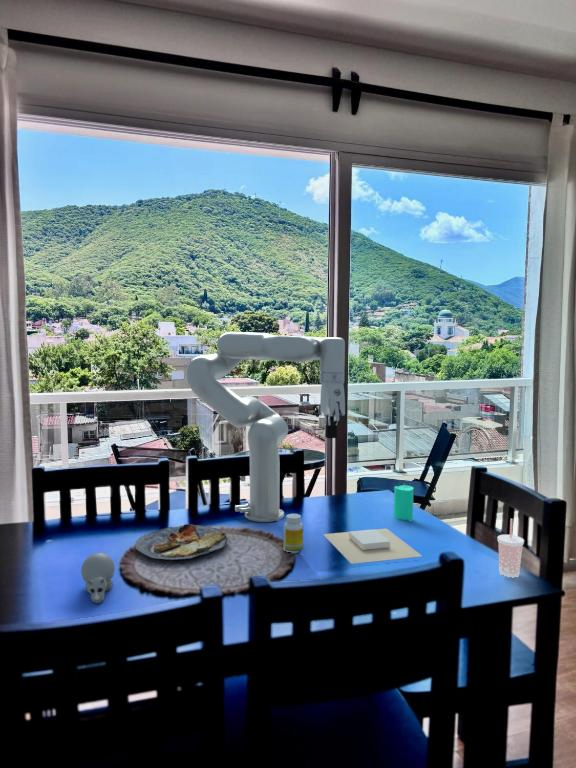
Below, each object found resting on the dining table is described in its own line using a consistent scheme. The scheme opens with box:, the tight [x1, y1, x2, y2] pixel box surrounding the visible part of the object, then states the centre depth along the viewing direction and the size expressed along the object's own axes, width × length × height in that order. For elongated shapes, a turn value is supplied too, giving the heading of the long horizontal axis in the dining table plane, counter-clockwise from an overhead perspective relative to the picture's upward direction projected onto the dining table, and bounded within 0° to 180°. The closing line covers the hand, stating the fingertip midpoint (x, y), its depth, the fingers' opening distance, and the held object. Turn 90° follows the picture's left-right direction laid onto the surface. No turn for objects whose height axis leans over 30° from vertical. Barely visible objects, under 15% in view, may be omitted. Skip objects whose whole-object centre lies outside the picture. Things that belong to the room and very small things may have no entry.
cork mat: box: [322, 528, 423, 565], centre depth 159 cm, size 20×22×1 cm
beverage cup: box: [497, 518, 525, 579], centre depth 142 cm, size 6×6×14 cm
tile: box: [348, 529, 390, 551], centre depth 160 cm, size 8×2×10 cm
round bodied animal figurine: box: [80, 552, 115, 604], centre depth 130 cm, size 7×12×8 cm, turn 13°
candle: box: [393, 484, 415, 523], centre depth 183 cm, size 6×6×12 cm
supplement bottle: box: [282, 513, 304, 554], centre depth 157 cm, size 5×5×10 cm
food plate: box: [134, 523, 229, 561], centre depth 159 cm, size 25×23×4 cm
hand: (331, 437), depth 177 cm, fingers closed
